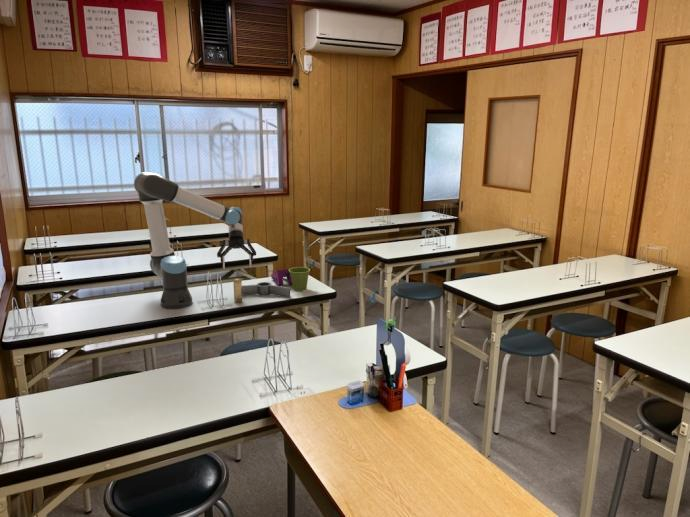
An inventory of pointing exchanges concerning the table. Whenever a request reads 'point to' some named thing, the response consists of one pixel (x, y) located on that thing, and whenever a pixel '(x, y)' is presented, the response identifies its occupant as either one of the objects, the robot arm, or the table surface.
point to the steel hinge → (265, 289)
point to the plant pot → (299, 278)
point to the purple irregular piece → (281, 277)
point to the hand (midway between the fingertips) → (237, 267)
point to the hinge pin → (237, 290)
